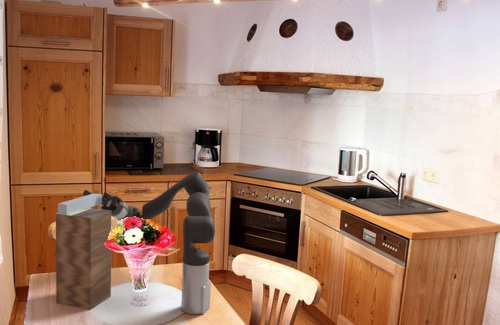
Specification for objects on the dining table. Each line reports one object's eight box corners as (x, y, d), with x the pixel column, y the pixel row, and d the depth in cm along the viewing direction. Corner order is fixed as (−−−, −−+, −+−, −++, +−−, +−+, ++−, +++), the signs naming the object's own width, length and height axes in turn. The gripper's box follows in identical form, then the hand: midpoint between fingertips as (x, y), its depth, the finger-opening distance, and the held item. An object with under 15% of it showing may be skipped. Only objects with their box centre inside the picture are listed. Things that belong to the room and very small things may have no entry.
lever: (101, 203, 182) (101, 194, 181) (66, 215, 163) (66, 204, 162) (93, 202, 183) (93, 193, 182) (57, 213, 164) (57, 203, 163)
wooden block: (110, 296, 176) (111, 210, 172) (90, 309, 165) (90, 217, 160) (78, 290, 180) (78, 206, 176) (56, 302, 169) (55, 213, 164)
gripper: (128, 218, 191) (107, 205, 177) (97, 214, 196) (74, 200, 181) (133, 200, 194) (113, 186, 180) (102, 196, 198) (81, 182, 184)
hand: (94, 193), depth 181 cm, fingers open, 8 cm apart
